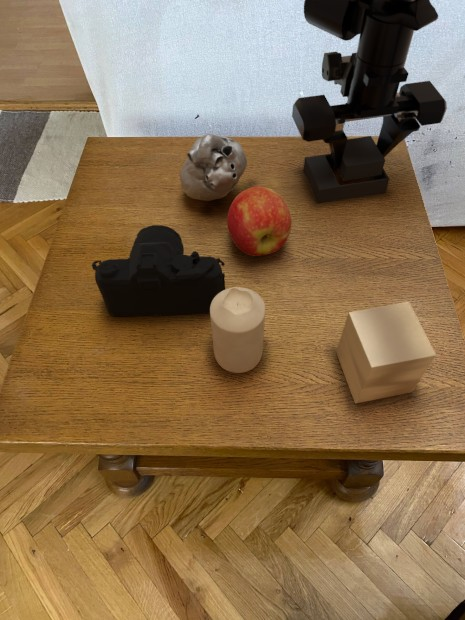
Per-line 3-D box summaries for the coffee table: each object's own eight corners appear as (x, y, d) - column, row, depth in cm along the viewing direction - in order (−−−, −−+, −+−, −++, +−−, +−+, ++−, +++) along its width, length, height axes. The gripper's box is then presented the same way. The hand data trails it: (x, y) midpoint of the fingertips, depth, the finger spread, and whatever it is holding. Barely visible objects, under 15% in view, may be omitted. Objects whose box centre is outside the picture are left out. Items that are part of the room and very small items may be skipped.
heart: (265, 185, 71) (254, 107, 61) (238, 227, 66) (221, 149, 57) (205, 176, 75) (186, 102, 66) (175, 216, 70) (150, 141, 61)
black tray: (367, 161, 74) (371, 147, 72) (385, 192, 70) (389, 179, 68) (302, 171, 73) (304, 157, 71) (317, 203, 69) (319, 189, 67)
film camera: (225, 256, 63) (223, 204, 56) (226, 318, 58) (223, 269, 50) (109, 259, 63) (92, 208, 56) (99, 320, 58) (78, 273, 51)
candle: (220, 379, 53) (217, 329, 45) (208, 337, 56) (203, 284, 48) (268, 366, 54) (273, 316, 46) (254, 326, 57) (256, 272, 49)
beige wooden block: (389, 342, 56) (409, 301, 49) (412, 392, 52) (436, 355, 45) (335, 352, 55) (348, 312, 48) (355, 403, 51) (371, 367, 45)
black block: (367, 150, 71) (370, 135, 69) (381, 175, 68) (385, 160, 66) (330, 156, 71) (333, 141, 69) (343, 181, 67) (346, 166, 65)
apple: (236, 271, 62) (235, 226, 55) (221, 225, 67) (219, 179, 60) (295, 259, 63) (302, 214, 56) (277, 215, 68) (281, 168, 61)
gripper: (427, 13, 62) (395, 122, 75) (285, 30, 60) (278, 139, 73) (469, 58, 56) (426, 169, 68) (311, 78, 54) (298, 188, 66)
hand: (355, 164), depth 69 cm, fingers closed on black block, 6 cm apart
